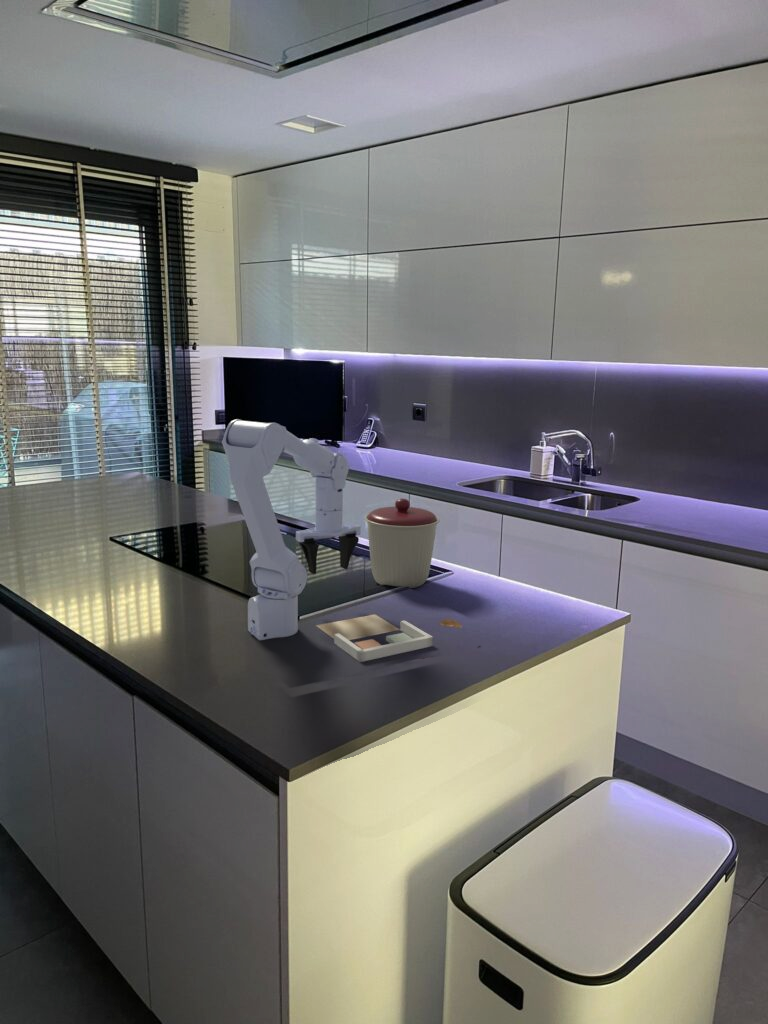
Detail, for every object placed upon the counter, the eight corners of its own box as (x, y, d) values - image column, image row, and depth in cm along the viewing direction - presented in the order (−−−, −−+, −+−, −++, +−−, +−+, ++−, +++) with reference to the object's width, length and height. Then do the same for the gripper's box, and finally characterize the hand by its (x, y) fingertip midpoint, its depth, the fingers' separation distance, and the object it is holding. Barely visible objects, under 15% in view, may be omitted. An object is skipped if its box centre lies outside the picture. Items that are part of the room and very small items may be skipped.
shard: (439, 614, 170) (440, 607, 170) (474, 618, 168) (474, 610, 168) (429, 632, 160) (430, 623, 160) (466, 636, 158) (467, 628, 158)
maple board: (338, 647, 149) (338, 642, 149) (315, 631, 158) (315, 625, 157) (400, 635, 156) (400, 629, 156) (374, 619, 165) (374, 614, 165)
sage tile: (396, 650, 147) (397, 643, 147) (386, 643, 151) (386, 636, 150) (414, 646, 149) (414, 639, 149) (403, 639, 153) (403, 632, 152)
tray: (359, 668, 140) (360, 652, 140) (334, 648, 149) (334, 634, 148) (432, 651, 149) (433, 636, 148) (404, 634, 157) (404, 620, 156)
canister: (443, 576, 196) (447, 494, 192) (428, 598, 179) (431, 509, 175) (375, 569, 201) (376, 489, 196) (353, 590, 184) (355, 503, 179)
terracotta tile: (364, 657, 144) (364, 650, 143) (354, 650, 147) (354, 642, 147) (383, 653, 146) (383, 646, 145) (372, 646, 149) (372, 639, 149)
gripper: (306, 515, 157) (306, 579, 160) (368, 509, 164) (366, 570, 167) (291, 508, 163) (291, 570, 166) (352, 502, 170) (351, 562, 173)
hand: (328, 570), depth 167 cm, fingers open, 7 cm apart
